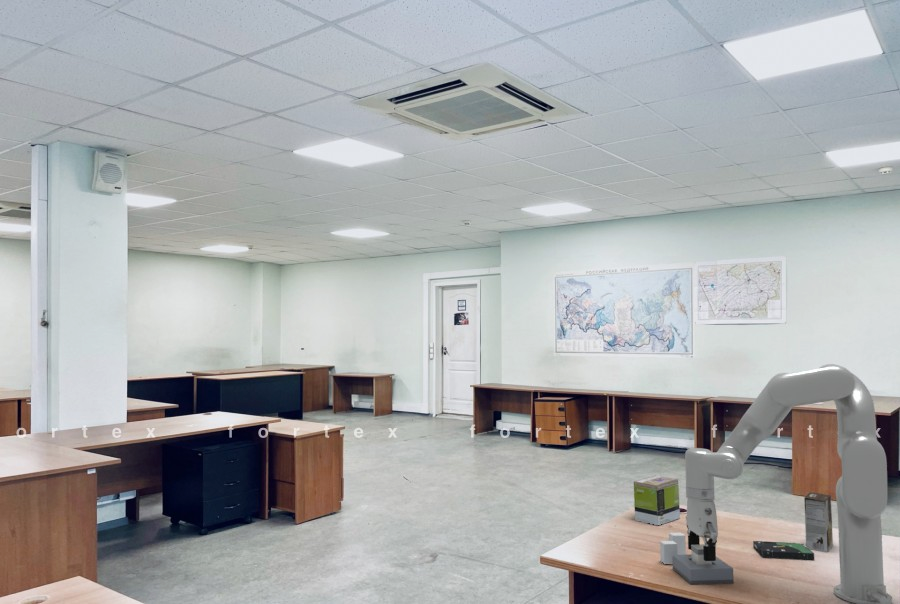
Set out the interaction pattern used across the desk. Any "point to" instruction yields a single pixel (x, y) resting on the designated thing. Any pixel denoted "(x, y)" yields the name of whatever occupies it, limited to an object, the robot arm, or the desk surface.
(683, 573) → the holder
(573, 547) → the desk surface
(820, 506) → the coffee box
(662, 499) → the tea box
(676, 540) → the pale grey post pair
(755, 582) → the desk surface
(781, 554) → the disk drive
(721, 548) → the desk surface
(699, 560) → the block
